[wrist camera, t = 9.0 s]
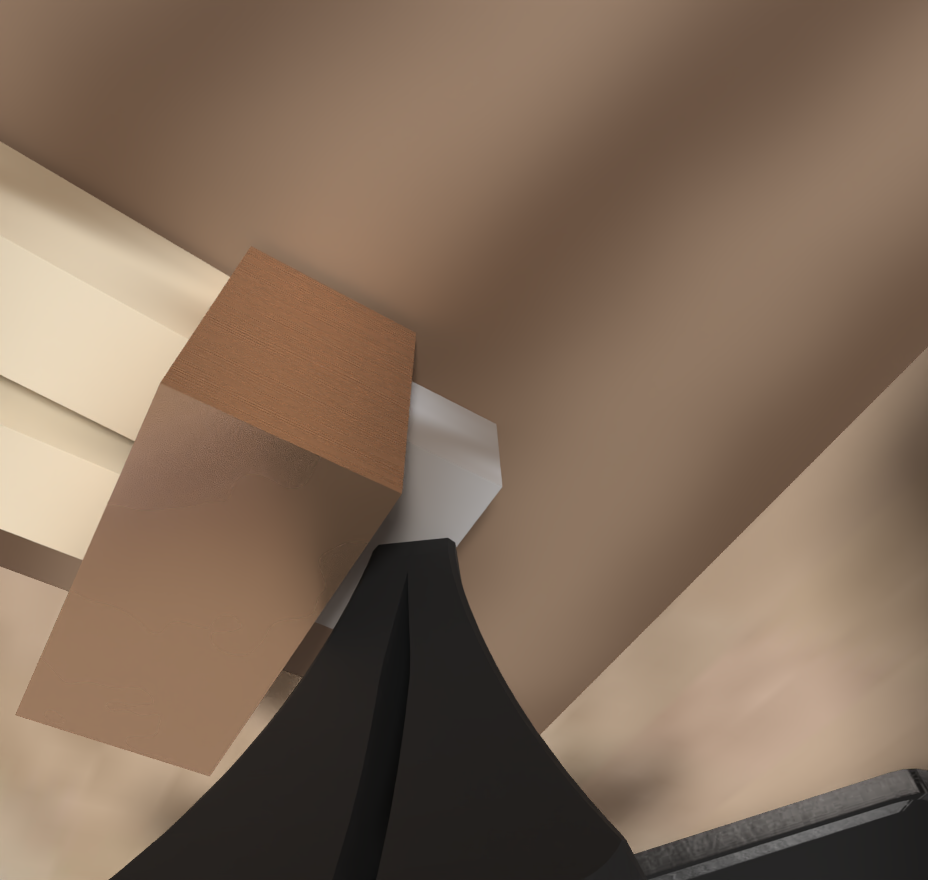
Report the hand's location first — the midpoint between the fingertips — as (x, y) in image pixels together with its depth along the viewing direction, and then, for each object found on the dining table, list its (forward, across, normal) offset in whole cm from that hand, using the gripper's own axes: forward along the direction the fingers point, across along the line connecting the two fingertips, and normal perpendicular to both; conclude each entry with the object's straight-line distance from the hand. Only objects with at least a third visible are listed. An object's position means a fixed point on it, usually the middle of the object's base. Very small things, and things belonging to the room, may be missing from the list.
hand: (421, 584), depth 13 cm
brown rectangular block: (+2, +3, -2) cm, 4 cm away
